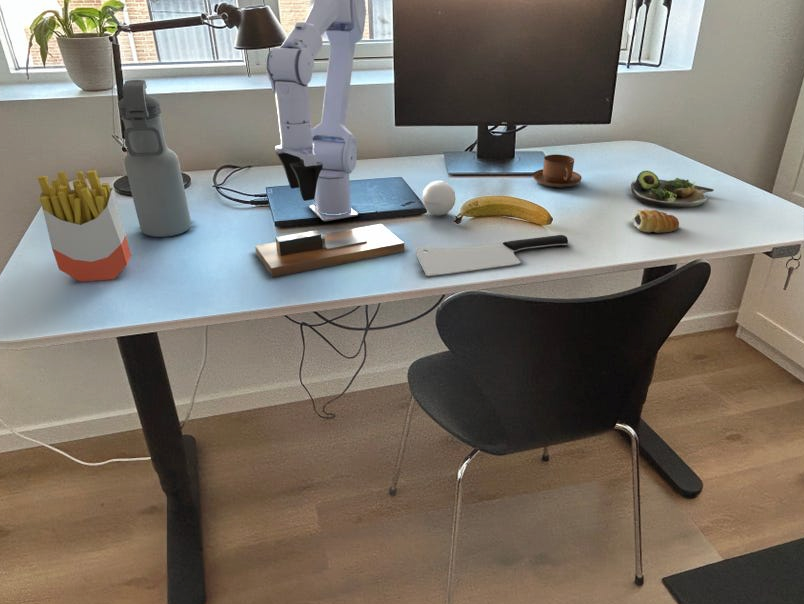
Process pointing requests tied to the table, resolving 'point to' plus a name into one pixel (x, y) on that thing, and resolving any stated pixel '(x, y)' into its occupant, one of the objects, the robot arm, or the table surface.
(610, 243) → the table surface
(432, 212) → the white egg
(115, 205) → the french fries container
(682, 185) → the salad plate
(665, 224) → the pastry
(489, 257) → the kitchen cleaver
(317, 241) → the two-tone stepped block
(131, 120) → the water bottle
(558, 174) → the cup and saucer
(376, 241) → the cutting board
